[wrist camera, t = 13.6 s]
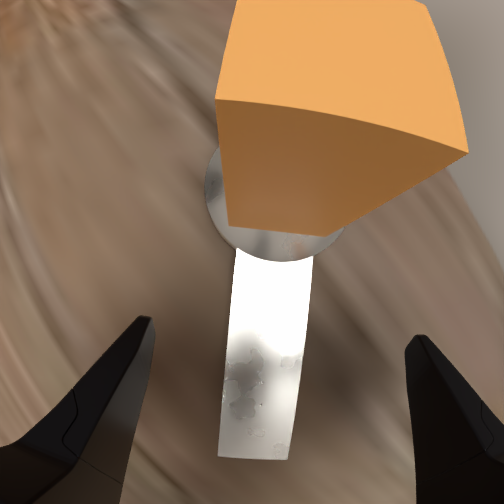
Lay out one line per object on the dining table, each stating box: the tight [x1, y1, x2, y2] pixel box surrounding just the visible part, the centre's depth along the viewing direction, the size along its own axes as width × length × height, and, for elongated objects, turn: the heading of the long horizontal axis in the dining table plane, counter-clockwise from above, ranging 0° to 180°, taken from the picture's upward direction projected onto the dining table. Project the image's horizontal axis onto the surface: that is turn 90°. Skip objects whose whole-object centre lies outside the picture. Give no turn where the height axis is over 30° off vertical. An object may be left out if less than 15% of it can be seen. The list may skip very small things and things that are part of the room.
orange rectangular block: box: [215, 0, 469, 237], centre depth 12 cm, size 6×6×12 cm
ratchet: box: [205, 146, 345, 460], centre depth 17 cm, size 22×9×5 cm, turn 174°
